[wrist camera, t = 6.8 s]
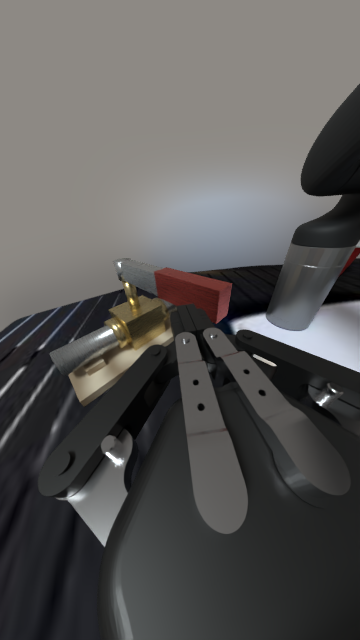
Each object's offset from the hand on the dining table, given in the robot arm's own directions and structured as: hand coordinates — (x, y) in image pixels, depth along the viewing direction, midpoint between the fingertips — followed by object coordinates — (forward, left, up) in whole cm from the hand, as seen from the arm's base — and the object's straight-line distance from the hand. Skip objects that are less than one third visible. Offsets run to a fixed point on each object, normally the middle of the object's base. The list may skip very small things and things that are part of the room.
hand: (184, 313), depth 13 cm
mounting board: (+1, -17, -16) cm, 24 cm away
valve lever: (-1, -9, -2) cm, 9 cm away
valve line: (+1, -17, -15) cm, 23 cm away
